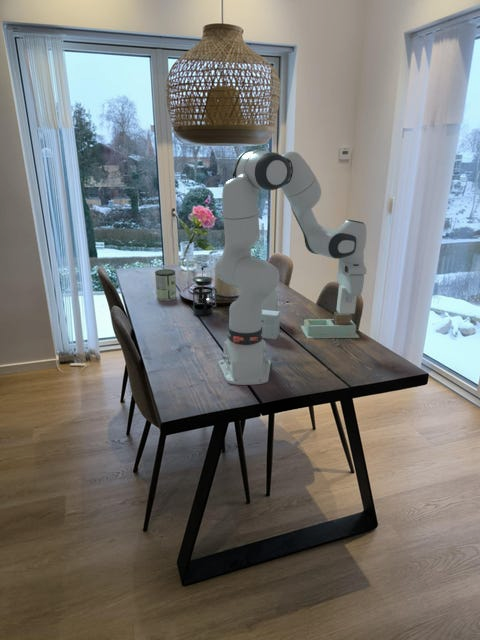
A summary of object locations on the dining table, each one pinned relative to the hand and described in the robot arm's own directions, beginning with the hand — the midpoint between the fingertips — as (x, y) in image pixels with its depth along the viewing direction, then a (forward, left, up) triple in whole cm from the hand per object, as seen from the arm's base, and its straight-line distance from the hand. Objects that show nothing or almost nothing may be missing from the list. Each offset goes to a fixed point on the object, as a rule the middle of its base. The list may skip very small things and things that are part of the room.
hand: (346, 300), depth 166 cm
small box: (+11, +28, -19) cm, 36 cm away
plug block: (0, 0, -5) cm, 5 cm away
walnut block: (+13, -3, -18) cm, 22 cm away
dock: (+13, +2, -19) cm, 23 cm away
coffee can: (+65, +75, -19) cm, 101 cm away
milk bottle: (+29, +26, -19) cm, 43 cm away
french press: (+40, +55, -19) cm, 71 cm away
